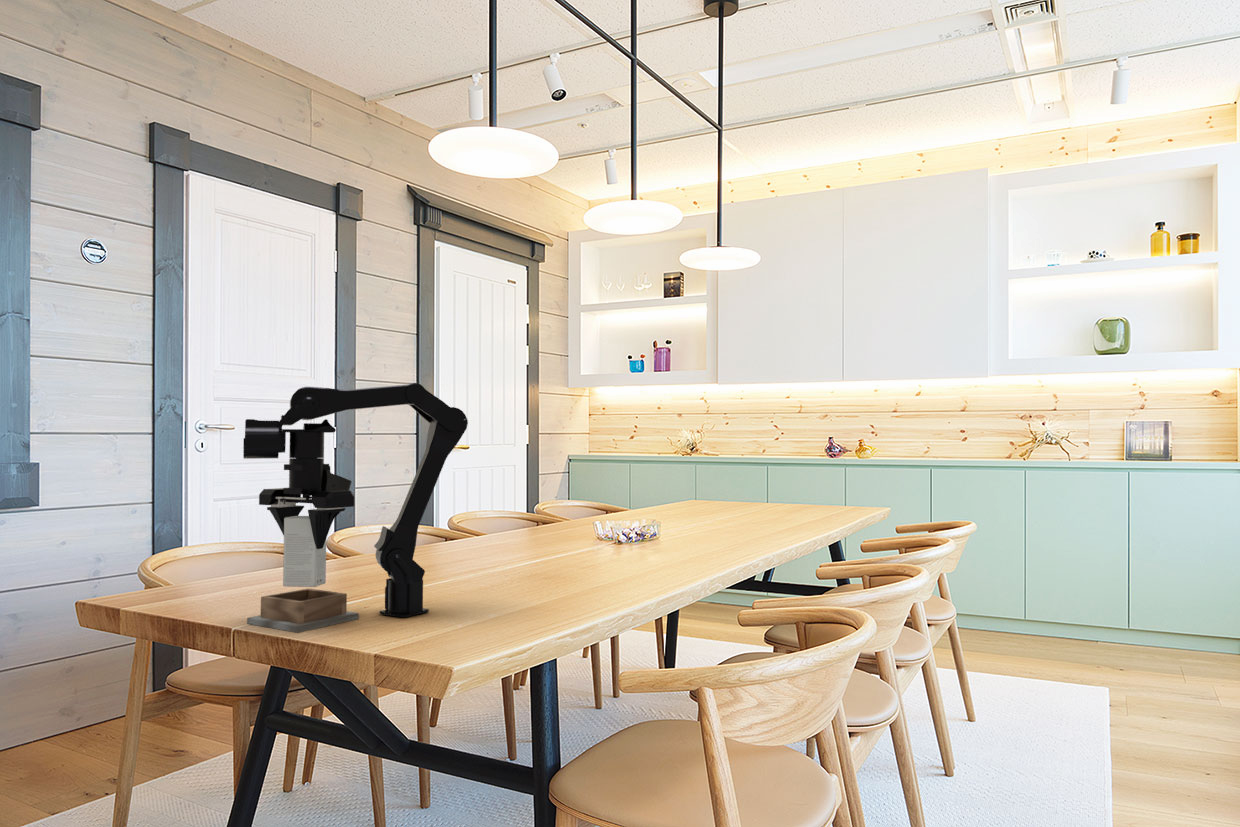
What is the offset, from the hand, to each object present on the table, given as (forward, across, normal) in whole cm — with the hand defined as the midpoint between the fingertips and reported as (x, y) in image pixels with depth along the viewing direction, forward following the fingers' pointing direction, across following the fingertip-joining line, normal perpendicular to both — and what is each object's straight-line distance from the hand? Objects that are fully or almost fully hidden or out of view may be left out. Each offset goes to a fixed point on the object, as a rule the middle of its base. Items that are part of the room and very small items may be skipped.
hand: (305, 547), depth 146 cm
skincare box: (+7, 0, 0) cm, 7 cm away
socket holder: (+13, 0, 0) cm, 13 cm away
